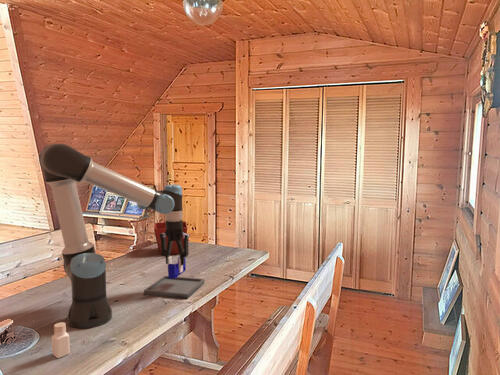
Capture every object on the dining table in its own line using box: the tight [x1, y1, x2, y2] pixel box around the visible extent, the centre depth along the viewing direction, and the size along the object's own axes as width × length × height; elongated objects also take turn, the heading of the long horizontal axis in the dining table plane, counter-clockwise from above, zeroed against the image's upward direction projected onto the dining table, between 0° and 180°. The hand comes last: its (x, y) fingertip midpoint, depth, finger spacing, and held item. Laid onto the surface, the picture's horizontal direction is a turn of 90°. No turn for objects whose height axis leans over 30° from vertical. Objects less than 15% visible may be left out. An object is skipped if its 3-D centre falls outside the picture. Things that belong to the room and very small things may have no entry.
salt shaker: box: [51, 322, 71, 359], centre depth 120 cm, size 4×4×10 cm
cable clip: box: [167, 256, 186, 279], centre depth 177 cm, size 12×4×6 cm, turn 167°
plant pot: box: [153, 221, 188, 256], centre depth 240 cm, size 19×19×17 cm
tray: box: [143, 275, 205, 300], centre depth 177 cm, size 20×20×2 cm
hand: (175, 271), depth 177 cm, fingers closed on cable clip, 4 cm apart
